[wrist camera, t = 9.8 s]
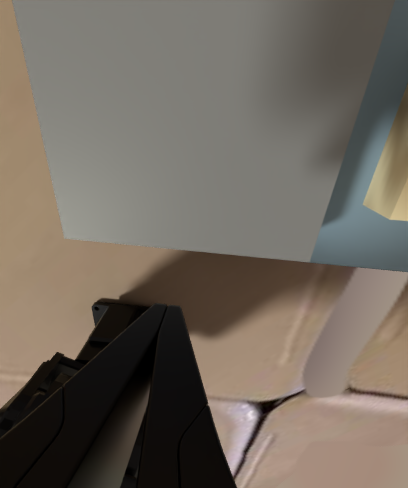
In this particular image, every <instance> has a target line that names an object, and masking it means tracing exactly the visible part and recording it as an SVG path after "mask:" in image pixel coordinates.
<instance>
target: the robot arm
mask: <svg viewBox="0 0 408 488" xmlns="http://www.w3.org/2000/svg"><path fill="white" fill-rule="evenodd" d="M92 312H93V317H94V323H95V328H94V330H93V331H92V333H91V334H90V336H89V338H88V340H87V342H86V343H85V345H84V347H83V348H82V350H81V351H80V353H79V355H78V356H77V358H76V359H75V360H73V359H70V358H68V357H65V356H64V354H61V353H59V352H57V353H56V354H55V355H54V356H53V357H52V359H51V360H50V361H49V360H47V362H43V363H42V364H41V366H40V367H39V368H38V370H37V371H36V372H35V374H34V375H33V376H32V378H31V379H30V380H29V381H28V382H27V383H26V385H25V386H24V387H23V388H22V389H20V390H19V391H18V392H17V393H16V394H15V395H14V396H13V397H12V398H11V399H10V400H9V401H8V402H7V403H6V404H5V405H4V406H3V407H2V408H1V409H0V488H237V486H236V484H235V481H234V479H233V476H232V473H231V471H230V468H229V465H228V463H227V460H226V457H225V455H224V452H223V449H222V446H221V443H220V440H219V437H218V434H217V431H216V427H215V424H214V421H213V417H212V414H211V410H210V407H209V406H208V400H207V397H206V393H205V390H204V386H203V383H202V379H201V376H200V372H199V369H198V365H197V362H196V358H195V355H194V351H193V348H192V344H191V341H190V337H189V333H188V330H187V326H186V323H185V319H184V316H183V312H182V309H181V307H180V306H176V305H168V306H167V305H166V304H160V303H155V304H153V305H152V306H151V307H143V306H133V305H123V304H114V303H104V302H95V303H94V304H93V306H92Z"/></svg>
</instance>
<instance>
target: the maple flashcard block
mask: <svg viewBox="0 0 408 488" xmlns="http://www.w3.org/2000/svg"><path fill="white" fill-rule="evenodd" d="M363 205H364V206H366V207H368V208H369V209H371V210H373V211H375V212H377V213H378V214H380V215H382V216H384V217H386V218H387V219H389V220H402V221H408V84H407V87H406V89H405V92H404V95H403V97H402V100H401V103H400V105H399V108H398V111H397V113H396V116H395V119H394V121H393V124H392V127H391V130H390V132H389V135H388V138H387V140H386V143H385V146H384V148H383V151H382V154H381V156H380V159H379V162H378V164H377V167H376V170H375V172H374V175H373V178H372V180H371V183H370V186H369V189H368V191H367V194H366V197H365V199H364V202H363Z"/></svg>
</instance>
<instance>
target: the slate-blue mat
mask: <svg viewBox="0 0 408 488" xmlns="http://www.w3.org/2000/svg"><path fill="white" fill-rule="evenodd" d="M407 84H408V0H395V2H394V5H393V8H392V11H391V14H390V17H389V20H388V23H387V26H386V30H385V33H384V36H383V39H382V42H381V45H380V48H379V51H378V54H377V57H376V60H375V63H374V66H373V69H372V72H371V75H370V79H369V82H368V85H367V88H366V91H365V94H364V97H363V100H362V103H361V106H360V109H359V112H358V115H357V118H356V121H355V124H354V128H353V131H352V134H351V137H350V140H349V143H348V146H347V149H346V152H345V155H344V158H343V161H342V164H341V167H340V170H339V173H338V177H337V180H336V183H335V186H334V189H333V192H332V195H331V198H330V201H329V204H328V207H327V210H326V213H325V216H324V219H323V222H322V226H321V229H320V232H319V235H318V238H317V241H316V244H315V247H314V250H313V253H312V256H311V259H310V263H320V264H330V265H340V266H351V267H361V268H372V269H381V270H392V271H402V272H408V221H402V220H389V219H387V218H386V217H384V216H382V215H380V214H378V213H377V212H375V211H373V210H371V209H369V208H368V207H366V206H364V205H363V202H364V199H365V197H366V194H367V191H368V189H369V186H370V183H371V180H372V178H373V175H374V172H375V170H376V167H377V164H378V162H379V159H380V156H381V154H382V151H383V148H384V146H385V143H386V140H387V138H388V135H389V132H390V130H391V127H392V124H393V121H394V119H395V116H396V113H397V111H398V108H399V105H400V103H401V100H402V97H403V95H404V92H405V89H406V87H407Z"/></svg>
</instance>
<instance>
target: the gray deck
mask: <svg viewBox="0 0 408 488" xmlns="http://www.w3.org/2000/svg"><path fill="white" fill-rule="evenodd" d="M12 2H13V7H14V11H15V16H16V20H17V25H18V29H19V34H20V38H21V43H22V48H23V52H24V57H25V61H26V66H27V70H28V75H29V79H30V84H31V89H32V93H33V98H34V102H35V107H36V111H37V116H38V120H39V125H40V129H41V134H42V139H43V143H44V148H45V152H46V157H47V161H48V166H49V170H50V175H51V180H52V184H53V189H54V193H55V198H56V202H57V207H58V211H59V216H60V220H61V225H62V230H63V234H64V239H74V240H85V241H95V242H105V243H115V244H126V245H136V246H146V247H156V248H167V249H177V250H187V251H198V252H208V253H218V254H228V255H239V256H249V257H259V258H269V259H280V260H290V261H300V262H310V259H311V256H312V253H313V250H314V247H315V244H316V241H317V238H318V235H319V232H320V229H321V226H322V222H323V219H324V216H325V213H326V210H327V207H328V204H329V201H330V198H331V195H332V192H333V189H334V186H335V183H336V180H337V177H338V173H339V170H340V167H341V164H342V161H343V158H344V155H345V152H346V149H347V146H348V143H349V140H350V137H351V134H352V131H353V128H354V124H355V121H356V118H357V115H358V112H359V109H360V106H361V103H362V100H363V97H364V94H365V91H366V88H367V85H368V82H369V79H370V75H371V72H372V69H373V66H374V63H375V60H376V57H377V54H378V51H379V48H380V45H381V42H382V39H383V36H384V33H385V30H386V26H387V23H388V20H389V17H390V14H391V11H392V8H393V5H394V2H395V0H12Z"/></svg>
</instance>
